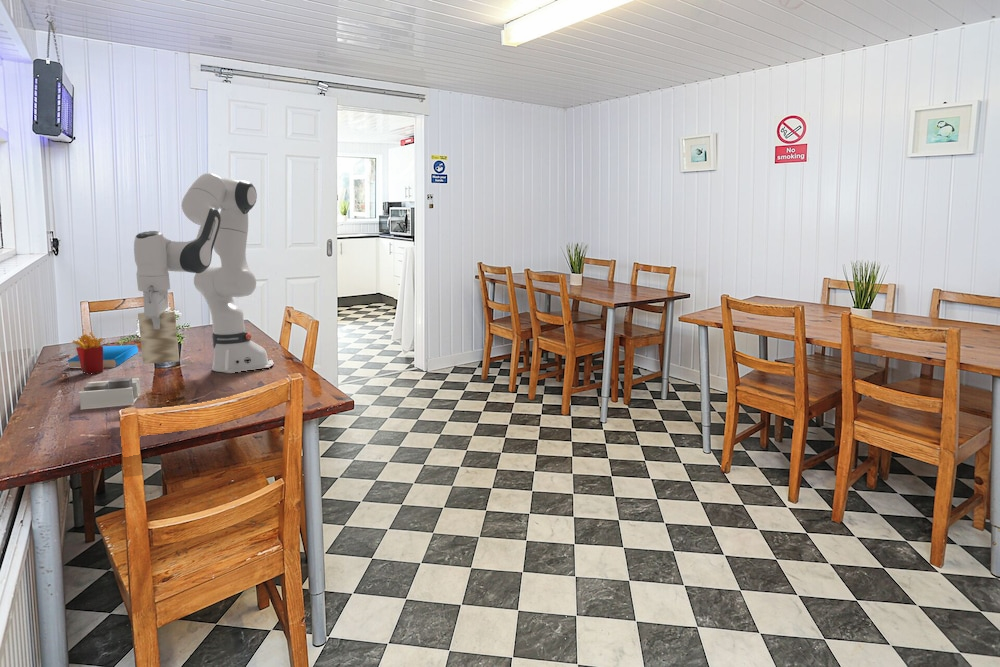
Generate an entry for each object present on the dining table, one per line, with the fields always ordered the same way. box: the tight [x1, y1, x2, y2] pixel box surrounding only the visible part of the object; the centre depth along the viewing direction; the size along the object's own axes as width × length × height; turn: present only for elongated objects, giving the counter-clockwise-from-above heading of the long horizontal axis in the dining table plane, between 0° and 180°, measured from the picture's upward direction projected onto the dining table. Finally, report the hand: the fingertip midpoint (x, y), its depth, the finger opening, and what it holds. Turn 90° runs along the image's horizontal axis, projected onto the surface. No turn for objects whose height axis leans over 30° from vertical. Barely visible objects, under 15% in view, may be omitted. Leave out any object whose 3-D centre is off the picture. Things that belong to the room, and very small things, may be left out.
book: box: [67, 344, 139, 368], centre depth 253 cm, size 17×4×25 cm
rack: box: [78, 377, 142, 411], centre depth 196 cm, size 14×14×6 cm
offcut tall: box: [108, 376, 134, 397], centre depth 195 cm, size 6×4×7 cm
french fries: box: [72, 332, 104, 375], centre depth 233 cm, size 9×8×15 cm
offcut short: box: [83, 382, 109, 391], centre depth 193 cm, size 6×4×6 cm
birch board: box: [137, 311, 180, 365], centre depth 197 cm, size 10×2×16 cm, turn 110°
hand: (158, 328), depth 197 cm, fingers closed on birch board, 2 cm apart
